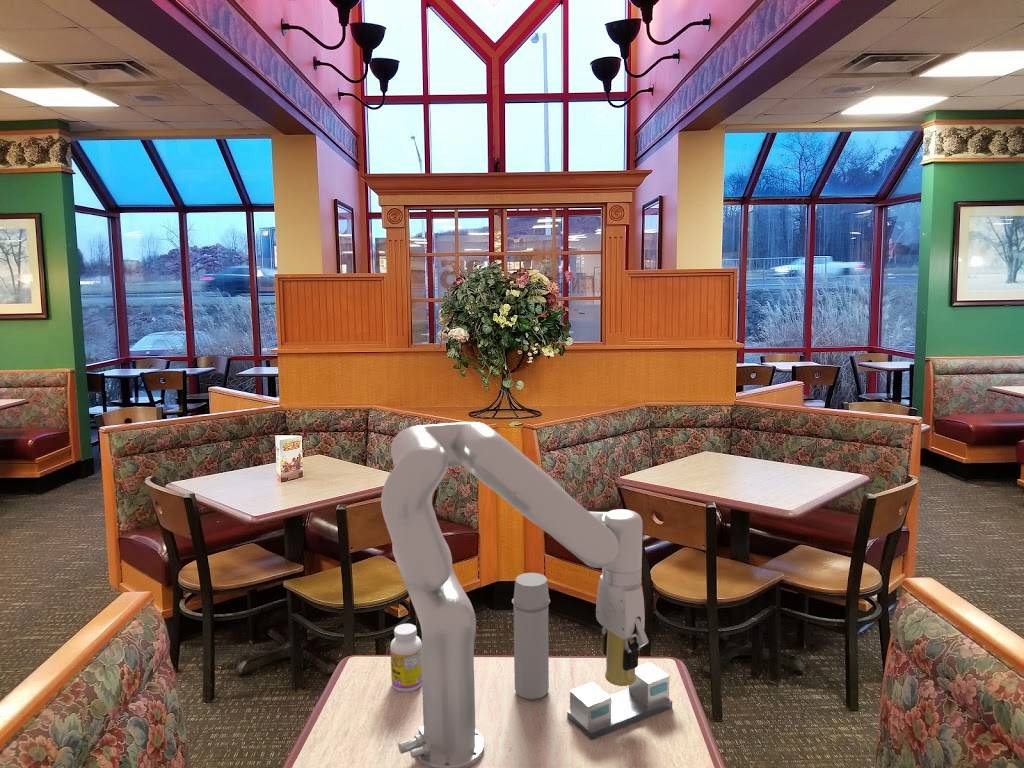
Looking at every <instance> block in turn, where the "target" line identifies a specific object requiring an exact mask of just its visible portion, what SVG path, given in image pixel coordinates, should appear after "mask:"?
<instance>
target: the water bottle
mask: <svg viewBox="0 0 1024 768" xmlns="http://www.w3.org/2000/svg"><path fill="white" fill-rule="evenodd" d="M511 603H512V604H513V652H514V653H513V655H514V656H513V657H514V659H513V661H514V663H513V664H514V669H513V670H514V671H513V672H514V690H515V692H516V694H517V695H518V696H519V697H521V698H523V699H527V700H537V699H539V700H540V699H541V698H542V697H545V695H547V693H548V692H549V688H550V685H549V680H550V677H549V675H550V673H549V672H550V670H549V669H550V667H549V664H550V663H549V662H550V661H549V657H550V655H549V644H550V643H549V636H550V635H549V604H550V603H551V599H550V594H549V584H548V578H547V577H546V576H545V574H542V573H537V572H525V573H522V574H519V575H517V576H516V577H515V581H514V591H513V598H512V599H511Z"/></svg>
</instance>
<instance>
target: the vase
mask: <svg viewBox="0 0 1024 768" xmlns="http://www.w3.org/2000/svg"><path fill="white" fill-rule="evenodd" d="M633 642H634V640H633V638H630V644H632V643H633ZM625 650H626V649H625V643H624V640H623V639H621V638H619V637H618V636H617V635H615V634H614V633H612V632H611V631H609V630H608V632H607V653H606V656H605V657H606V658H605V659H606V660H605V661H606V664H605V666H606V669H605V670H606V671H605V672H604V673H605V674H604V677H605V679H606V681H607V682H608V683H609V684H612V685H614V686H618V687H625V686H626V687H627V686H628V687H629V685H631V684H633V683H634V682H635V681H636V671H635V668H633V669H630V670H628V671H625V670H624V669H623V651H625Z"/></svg>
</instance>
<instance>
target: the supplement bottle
mask: <svg viewBox="0 0 1024 768" xmlns="http://www.w3.org/2000/svg"><path fill="white" fill-rule="evenodd" d="M417 630H418V629H417V627H416V625H414V624H412V623H402V624H399V625H397V626H395V628H394V629H393V635H394V638H392V640H391V642H390V645H389V646H390V648H389V649H390V650H389V651H390V672H391V673H390V674H391V686H392V688H394V690H396V691H398V692H401V691H402V693H408V692H409V691H410V692H412V691H415V690H417V689H419V688H420V687H422V674H421V648H422V639H421V638H420V637H419V636H418V635H417V634H418V632H417Z"/></svg>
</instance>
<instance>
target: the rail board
mask: <svg viewBox="0 0 1024 768" xmlns="http://www.w3.org/2000/svg"><path fill="white" fill-rule="evenodd" d="M635 671H636V681H635V682H634V683H633V684H631V685H628V687H627V688H626V689H623V690H619V691H617V692H615V693H612V694H608V693H607V692H606V691H604V689H602V688H601V687H600V686H599V685H597V684H596V683H595V682H593V681H592V682H589V683H587V684H584V685H581V686H578V687H576V688H572V689H570V690H569V700H570V701H569V710H567V711H566V714H567V715H566V718H567V719H568V720H569V721H570V722H571V723H572V724H573V725H574V726H575V727H576V728H577V729H578V730H580V732H581V733H582V734H584V735H585V736H586V737H587V739H589V740H590V741H594V740H596V739H597V738H600V737H603V736H606V735H608V734H610V733H613V732H615V731H617V730H620V729H622V728H625V727H627V726H630V725H633V724H635V723H638V722H640V721H643V720H645V719H648V718H651V717H653V716H655V715H658V714H659V713H663V712H665V711H667V710H671V709H673V700H671V699H670V675H669V674H668V673H667V672H665V671H664V670H662V669H661V668H660V667H659V666H657V665H655V664H654V663H652V662H651V661H648V662H645V663H643V664H640V665H638V666H637V667H636V668H635Z"/></svg>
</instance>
